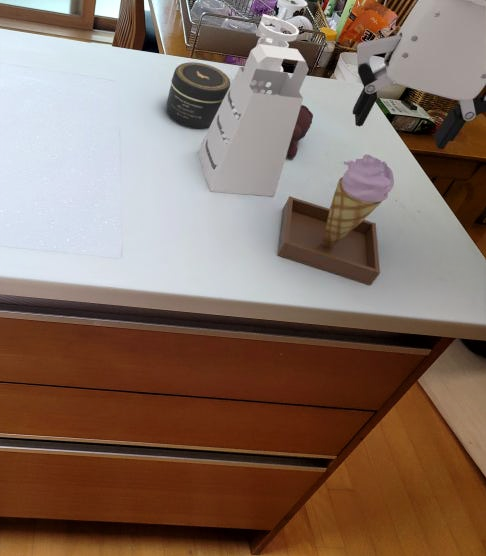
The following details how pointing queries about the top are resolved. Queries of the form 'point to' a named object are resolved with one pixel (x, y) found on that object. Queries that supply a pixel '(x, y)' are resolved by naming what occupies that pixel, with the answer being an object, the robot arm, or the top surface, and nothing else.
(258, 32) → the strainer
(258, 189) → the grater
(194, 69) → the jar
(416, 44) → the robot arm
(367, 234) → the tray
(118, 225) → the top surface
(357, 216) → the ice cream cone
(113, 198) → the top surface
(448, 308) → the top surface
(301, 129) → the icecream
